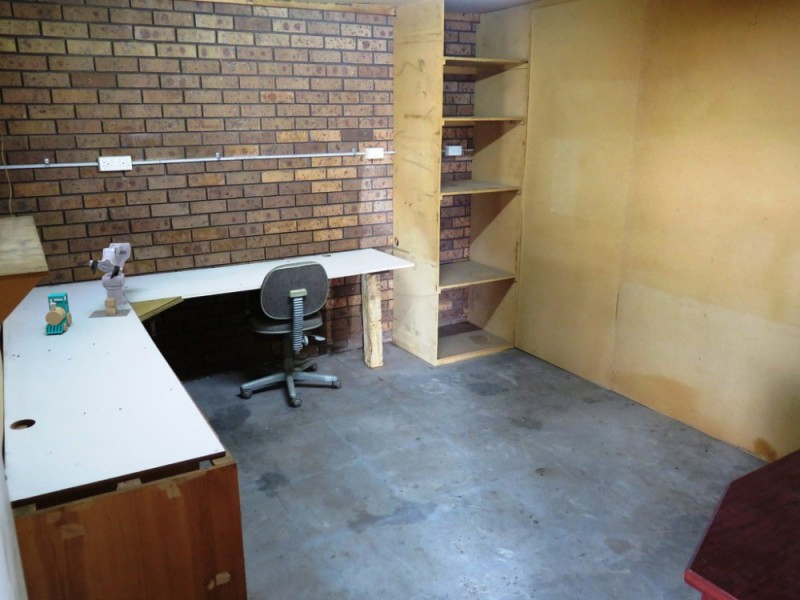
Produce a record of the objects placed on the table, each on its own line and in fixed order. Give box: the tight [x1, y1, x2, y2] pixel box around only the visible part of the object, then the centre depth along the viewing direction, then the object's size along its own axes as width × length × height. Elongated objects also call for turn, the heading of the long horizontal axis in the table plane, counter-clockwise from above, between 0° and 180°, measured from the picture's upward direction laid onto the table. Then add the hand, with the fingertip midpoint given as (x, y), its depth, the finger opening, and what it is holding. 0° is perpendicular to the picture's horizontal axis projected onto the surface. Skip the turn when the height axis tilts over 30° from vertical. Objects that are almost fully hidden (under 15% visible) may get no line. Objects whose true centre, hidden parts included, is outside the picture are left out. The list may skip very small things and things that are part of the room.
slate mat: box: [87, 308, 131, 319], centre depth 300 cm, size 13×17×1 cm
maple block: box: [104, 298, 118, 316], centre depth 297 cm, size 4×4×8 cm
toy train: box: [44, 292, 73, 335], centre depth 274 cm, size 8×17×15 cm, turn 15°
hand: (103, 274), depth 292 cm, fingers open, 7 cm apart
